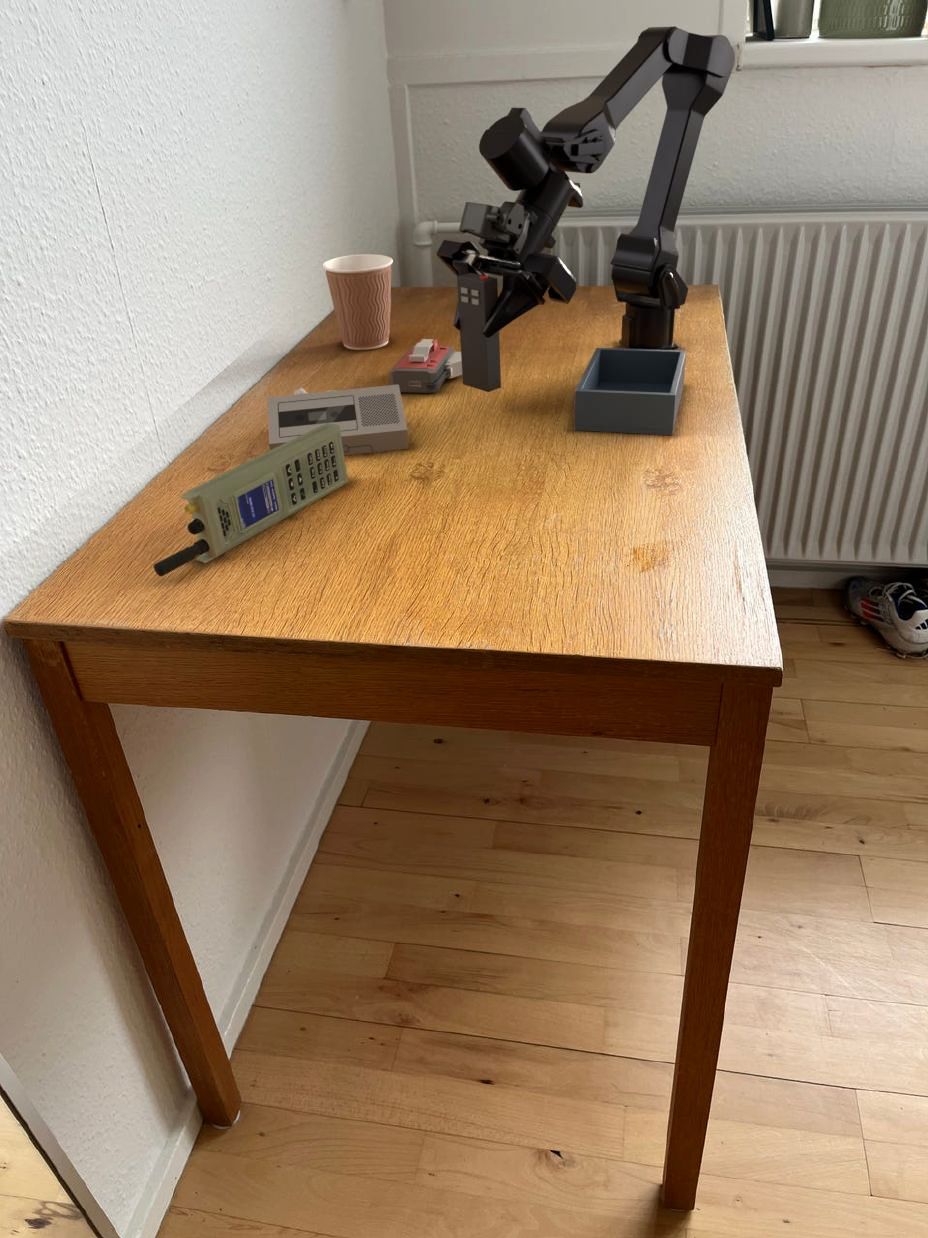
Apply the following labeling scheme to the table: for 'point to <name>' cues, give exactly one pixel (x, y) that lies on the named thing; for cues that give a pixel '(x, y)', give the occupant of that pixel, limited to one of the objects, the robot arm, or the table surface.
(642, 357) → the tote
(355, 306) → the coffee cup
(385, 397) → the cassette player
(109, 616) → the table surface
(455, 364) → the walkie-talkie
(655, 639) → the table surface
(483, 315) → the block
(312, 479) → the handheld radio
